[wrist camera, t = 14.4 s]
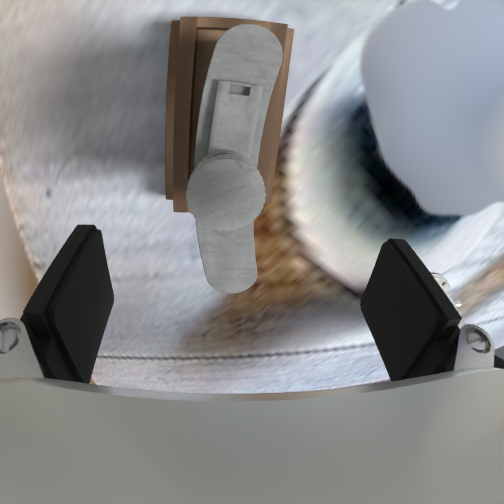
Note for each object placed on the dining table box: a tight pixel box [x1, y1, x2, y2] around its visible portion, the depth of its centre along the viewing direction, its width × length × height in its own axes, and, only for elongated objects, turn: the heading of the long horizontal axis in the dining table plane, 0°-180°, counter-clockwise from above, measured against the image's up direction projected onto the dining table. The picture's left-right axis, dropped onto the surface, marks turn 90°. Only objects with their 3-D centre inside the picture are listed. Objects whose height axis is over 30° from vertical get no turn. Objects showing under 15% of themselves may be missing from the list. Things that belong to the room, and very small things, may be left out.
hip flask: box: [186, 24, 283, 293], centre depth 22 cm, size 16×4×20 cm, turn 175°
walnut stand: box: [165, 17, 294, 215], centre depth 29 cm, size 12×20×4 cm, turn 174°
